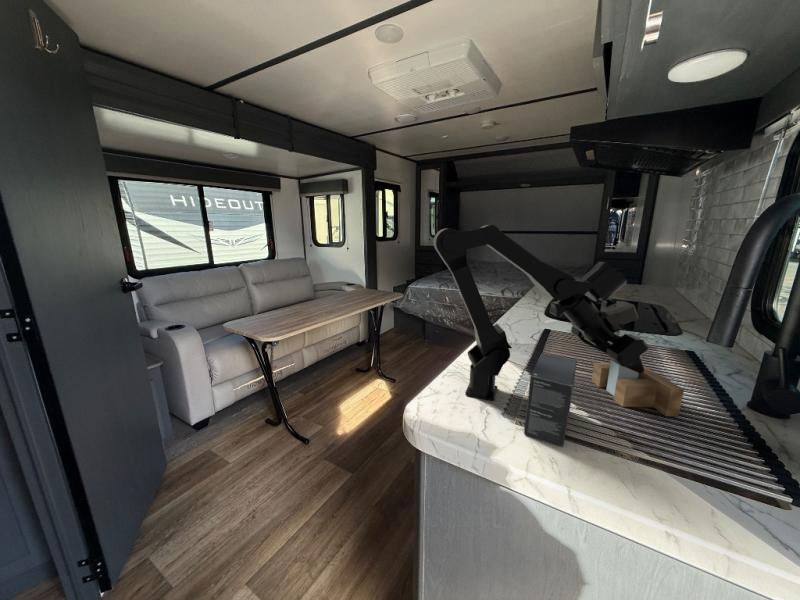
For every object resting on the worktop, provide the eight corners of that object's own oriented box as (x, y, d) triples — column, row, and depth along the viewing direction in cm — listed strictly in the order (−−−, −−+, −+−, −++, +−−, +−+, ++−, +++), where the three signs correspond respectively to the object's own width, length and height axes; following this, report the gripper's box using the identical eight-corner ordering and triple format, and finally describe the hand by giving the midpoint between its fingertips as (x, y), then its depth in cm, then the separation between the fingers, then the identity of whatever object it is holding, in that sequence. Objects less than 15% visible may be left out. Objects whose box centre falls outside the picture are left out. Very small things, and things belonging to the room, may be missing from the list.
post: (614, 396, 71) (622, 346, 68) (606, 390, 74) (613, 342, 71) (634, 396, 71) (643, 347, 68) (625, 390, 74) (634, 342, 71)
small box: (564, 448, 54) (572, 386, 51) (523, 435, 58) (528, 376, 55) (570, 412, 65) (577, 358, 62) (535, 402, 68) (540, 351, 66)
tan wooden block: (633, 415, 64) (638, 388, 62) (584, 375, 81) (587, 353, 80) (678, 416, 63) (684, 389, 62) (619, 375, 81) (623, 354, 80)
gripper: (647, 299, 58) (695, 355, 60) (589, 282, 76) (628, 326, 78) (598, 339, 60) (646, 392, 62) (553, 313, 78) (592, 355, 80)
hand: (627, 362), depth 71 cm, fingers open, 9 cm apart
